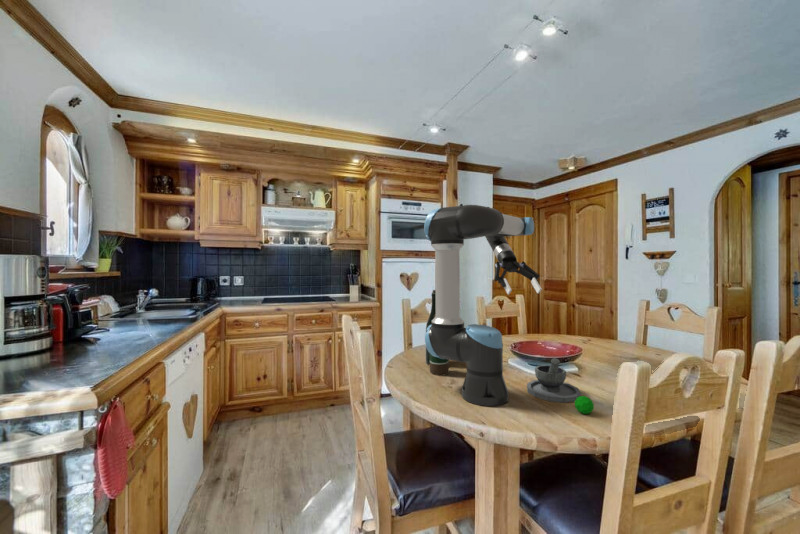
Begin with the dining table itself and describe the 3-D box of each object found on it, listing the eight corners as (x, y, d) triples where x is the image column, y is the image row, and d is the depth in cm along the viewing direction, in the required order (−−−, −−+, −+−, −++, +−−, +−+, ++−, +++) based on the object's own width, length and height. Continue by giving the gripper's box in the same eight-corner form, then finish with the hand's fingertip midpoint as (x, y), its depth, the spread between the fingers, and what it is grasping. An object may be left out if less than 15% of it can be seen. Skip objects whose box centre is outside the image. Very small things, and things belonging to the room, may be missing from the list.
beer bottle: (439, 377, 132) (438, 316, 131) (425, 372, 138) (425, 314, 137) (452, 372, 136) (452, 314, 136) (438, 368, 142) (438, 312, 142)
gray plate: (568, 406, 103) (568, 402, 103) (518, 392, 115) (518, 387, 115) (587, 392, 114) (587, 388, 114) (540, 380, 126) (540, 376, 126)
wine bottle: (446, 359, 155) (445, 288, 155) (451, 366, 145) (450, 290, 144) (424, 360, 155) (423, 289, 154) (427, 367, 144) (426, 290, 144)
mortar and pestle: (532, 383, 121) (531, 350, 121) (559, 384, 121) (558, 351, 120) (542, 396, 110) (542, 359, 110) (572, 396, 109) (571, 360, 109)
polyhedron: (576, 407, 103) (576, 392, 102) (595, 412, 99) (595, 396, 99) (573, 413, 99) (573, 397, 99) (591, 418, 96) (591, 401, 96)
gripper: (526, 261, 156) (547, 296, 142) (477, 262, 151) (493, 298, 136) (533, 249, 151) (555, 284, 136) (482, 250, 145) (500, 286, 131)
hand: (524, 291), depth 136 cm, fingers open, 13 cm apart
